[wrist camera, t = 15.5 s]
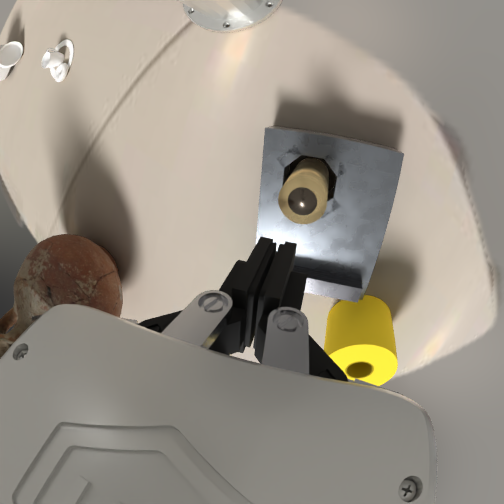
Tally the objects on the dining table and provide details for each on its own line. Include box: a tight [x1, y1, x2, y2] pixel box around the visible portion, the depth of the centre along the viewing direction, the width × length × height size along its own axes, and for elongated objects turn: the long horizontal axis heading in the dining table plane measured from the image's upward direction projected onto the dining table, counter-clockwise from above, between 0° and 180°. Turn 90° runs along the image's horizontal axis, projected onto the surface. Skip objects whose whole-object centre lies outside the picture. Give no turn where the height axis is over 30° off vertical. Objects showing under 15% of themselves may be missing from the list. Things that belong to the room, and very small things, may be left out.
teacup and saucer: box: [42, 39, 74, 82], centre depth 28 cm, size 9×8×4 cm
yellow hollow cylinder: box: [324, 295, 398, 386], centre depth 34 cm, size 10×10×9 cm
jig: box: [256, 126, 404, 303], centre depth 29 cm, size 18×14×6 cm
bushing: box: [278, 158, 329, 224], centre depth 26 cm, size 4×4×10 cm
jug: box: [0, 234, 123, 359], centre depth 36 cm, size 22×22×30 cm
